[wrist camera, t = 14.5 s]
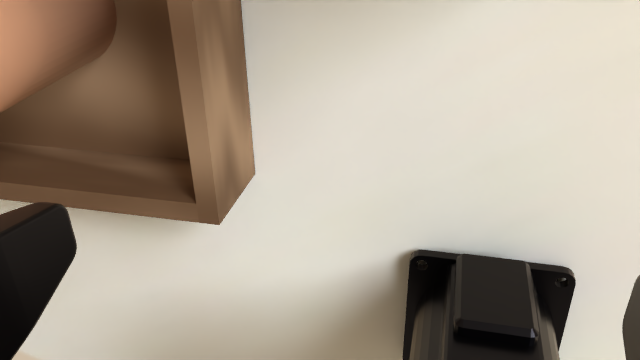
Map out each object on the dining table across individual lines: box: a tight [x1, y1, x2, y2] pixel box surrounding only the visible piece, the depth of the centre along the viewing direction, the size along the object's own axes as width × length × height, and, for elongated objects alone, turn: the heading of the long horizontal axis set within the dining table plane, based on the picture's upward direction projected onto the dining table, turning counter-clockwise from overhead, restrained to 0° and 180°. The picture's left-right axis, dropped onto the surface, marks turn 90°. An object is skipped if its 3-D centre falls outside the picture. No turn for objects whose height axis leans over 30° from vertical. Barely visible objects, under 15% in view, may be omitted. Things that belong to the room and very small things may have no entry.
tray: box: [0, 0, 255, 225], centre depth 20 cm, size 14×14×4 cm
